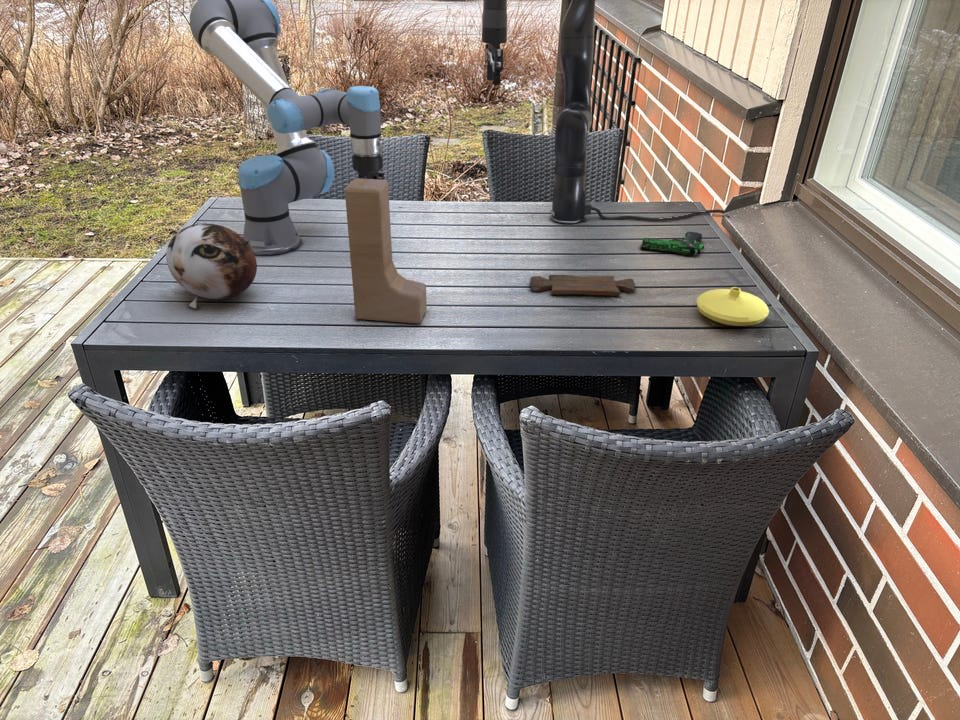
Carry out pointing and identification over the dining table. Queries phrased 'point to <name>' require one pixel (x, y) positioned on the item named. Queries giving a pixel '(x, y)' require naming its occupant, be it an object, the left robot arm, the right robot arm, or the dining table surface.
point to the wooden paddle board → (581, 285)
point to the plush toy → (211, 261)
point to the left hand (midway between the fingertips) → (372, 241)
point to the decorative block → (378, 258)
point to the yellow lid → (732, 307)
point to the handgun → (676, 244)
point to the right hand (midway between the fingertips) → (493, 82)
